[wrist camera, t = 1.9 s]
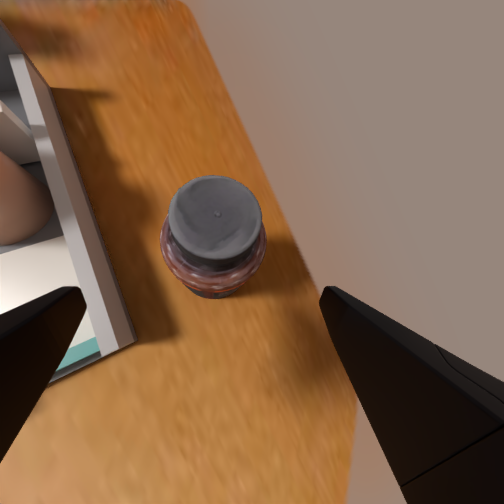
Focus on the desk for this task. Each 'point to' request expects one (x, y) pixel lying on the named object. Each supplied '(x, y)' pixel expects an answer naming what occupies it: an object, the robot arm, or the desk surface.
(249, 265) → the supplement bottle
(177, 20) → the desk surface
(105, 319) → the pusher lane
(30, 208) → the terracotta jar
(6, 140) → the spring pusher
